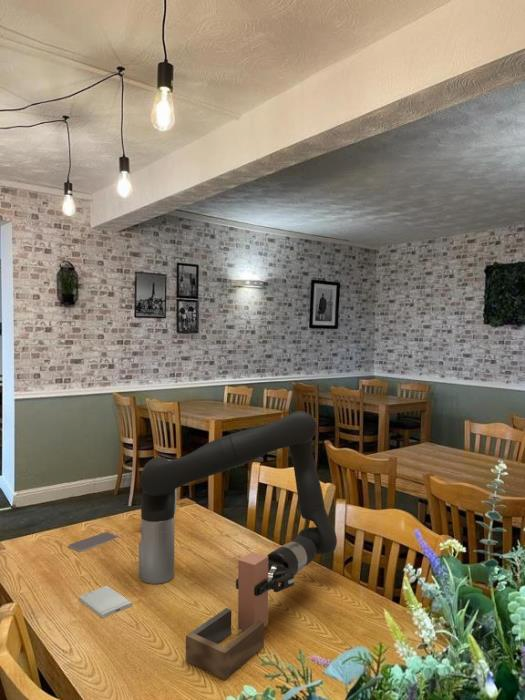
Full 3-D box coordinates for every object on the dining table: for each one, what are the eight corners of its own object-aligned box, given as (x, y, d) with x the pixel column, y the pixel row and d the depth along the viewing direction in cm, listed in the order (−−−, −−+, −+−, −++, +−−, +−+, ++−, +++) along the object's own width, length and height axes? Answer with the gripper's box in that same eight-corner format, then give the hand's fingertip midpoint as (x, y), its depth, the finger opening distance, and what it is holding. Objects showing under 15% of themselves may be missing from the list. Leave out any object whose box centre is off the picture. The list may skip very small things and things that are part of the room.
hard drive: (78, 596, 134) (102, 613, 125) (107, 585, 139) (132, 601, 131) (78, 602, 134) (102, 620, 125) (107, 591, 139) (132, 607, 131)
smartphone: (119, 536, 174) (80, 550, 162) (119, 539, 174) (80, 553, 162) (105, 531, 179) (66, 545, 167) (105, 534, 179) (66, 547, 167)
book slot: (185, 661, 109) (185, 635, 109) (226, 631, 120) (226, 607, 120) (224, 680, 103) (225, 653, 103) (263, 647, 114) (263, 622, 114)
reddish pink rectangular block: (238, 629, 119) (238, 559, 118) (252, 618, 123) (252, 551, 123) (254, 635, 116) (254, 564, 116) (267, 624, 121) (268, 556, 120)
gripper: (263, 540, 135) (221, 564, 121) (311, 553, 127) (272, 580, 113) (262, 568, 135) (221, 595, 121) (311, 584, 127) (272, 614, 113)
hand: (246, 588), depth 117 cm, fingers closed on reddish pink rectangular block, 4 cm apart
